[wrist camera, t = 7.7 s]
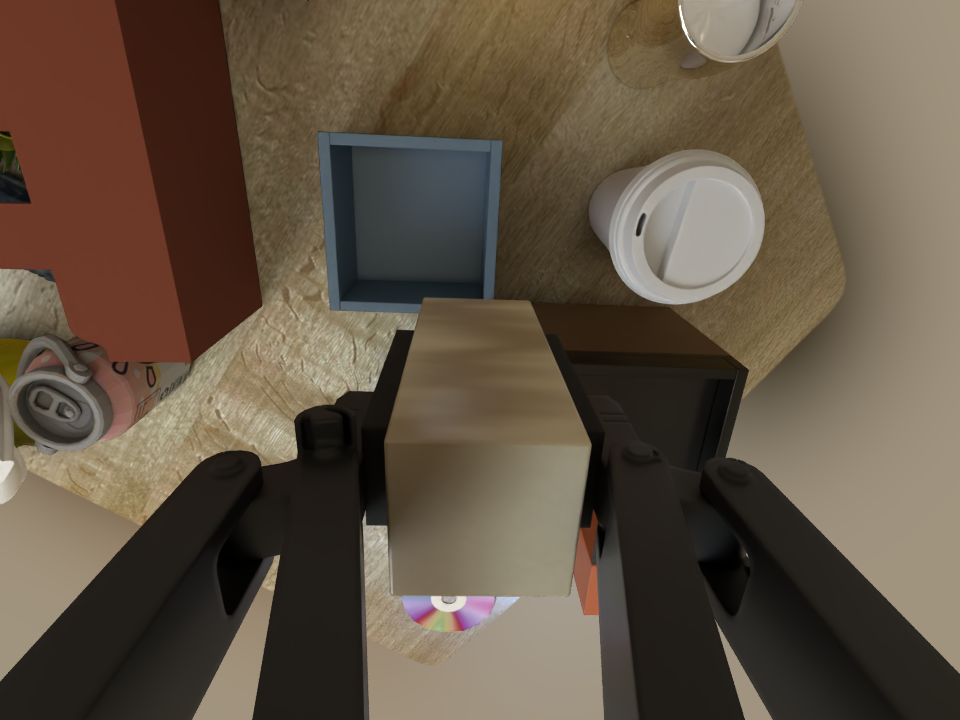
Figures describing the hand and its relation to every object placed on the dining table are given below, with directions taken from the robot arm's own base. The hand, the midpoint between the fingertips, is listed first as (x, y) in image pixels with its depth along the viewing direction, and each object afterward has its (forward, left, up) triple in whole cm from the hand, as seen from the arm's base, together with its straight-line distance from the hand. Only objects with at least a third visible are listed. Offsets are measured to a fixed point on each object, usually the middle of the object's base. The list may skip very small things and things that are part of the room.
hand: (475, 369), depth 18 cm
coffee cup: (-13, -3, -29) cm, 32 cm away
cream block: (0, 0, -2) cm, 2 cm away
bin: (+4, -1, -29) cm, 29 cm away
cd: (+1, +43, -29) cm, 52 cm away
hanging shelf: (+19, -5, -22) cm, 30 cm away
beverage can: (+30, +12, -29) cm, 44 cm away
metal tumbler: (-13, -15, -29) cm, 35 cm away
